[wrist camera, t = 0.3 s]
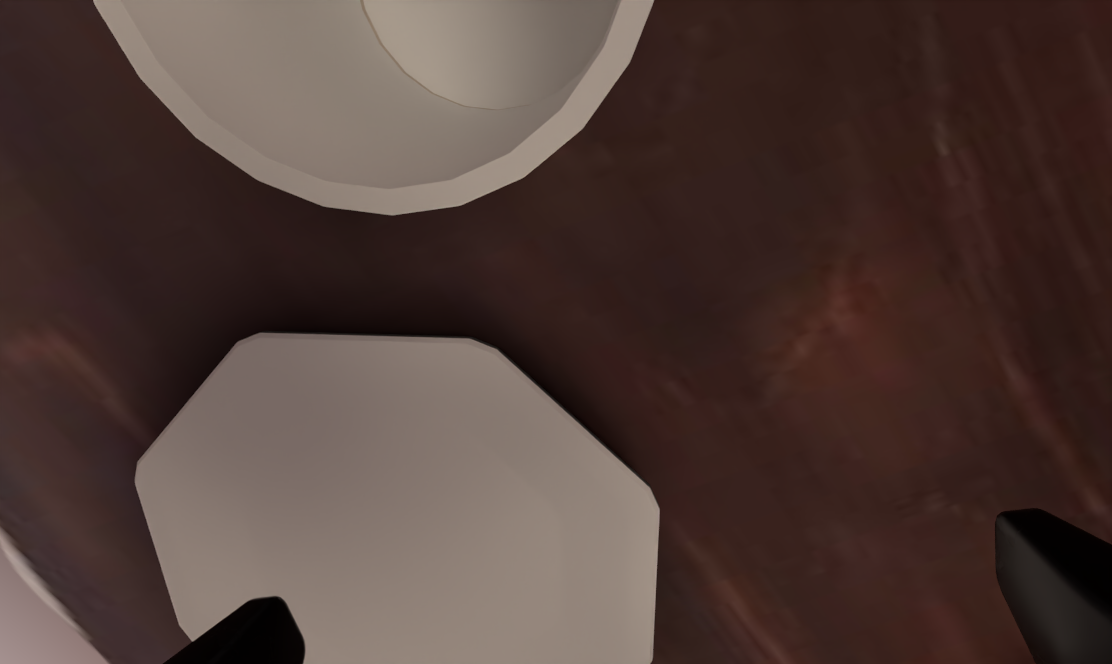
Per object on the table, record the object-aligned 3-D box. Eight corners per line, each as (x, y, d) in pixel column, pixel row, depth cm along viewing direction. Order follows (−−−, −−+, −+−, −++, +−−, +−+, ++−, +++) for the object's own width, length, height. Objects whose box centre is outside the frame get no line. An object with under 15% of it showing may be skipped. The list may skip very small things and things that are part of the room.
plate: (227, 700, 33) (209, 729, 31) (114, 313, 25) (83, 329, 23) (647, 739, 30) (647, 772, 29) (666, 327, 23) (667, 345, 21)
